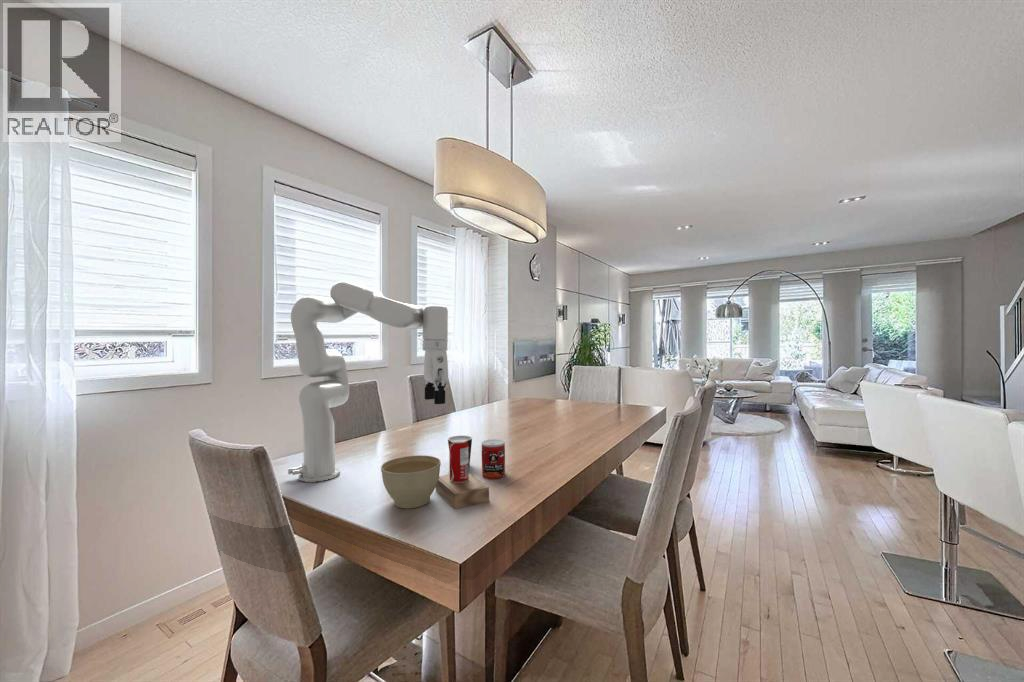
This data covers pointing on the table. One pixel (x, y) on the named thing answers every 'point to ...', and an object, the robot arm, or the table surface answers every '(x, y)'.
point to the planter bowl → (411, 479)
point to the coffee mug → (469, 440)
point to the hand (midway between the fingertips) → (434, 401)
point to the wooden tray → (462, 491)
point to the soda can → (459, 460)
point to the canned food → (493, 458)
